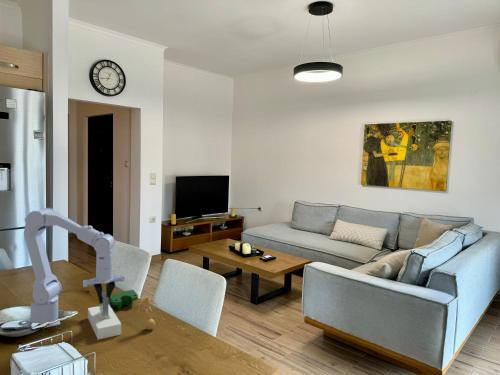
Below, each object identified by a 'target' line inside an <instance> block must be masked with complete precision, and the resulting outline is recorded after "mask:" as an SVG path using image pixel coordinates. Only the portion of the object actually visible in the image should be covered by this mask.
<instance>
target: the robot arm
mask: <svg viewBox="0 0 500 375" xmlns="http://www.w3.org/2000/svg"><path fill="white" fill-rule="evenodd" d="M24 223H25V226H24V230H23V236H24V240H25V243H26V247H27V251H28V255H29V258H30V262H31V266H32V270H33V273H34V277H35V280H34V282H33V284H32V296H31V297H32V299H33V301H34V302H31V303H30V306H29V307H30V310H29V311H30V316H29V323H30V322H31V323H46V322H50V321H54V320H56V319H57V318H58V317H59V294H61V292H62V284H61V282H60V281H59V280H58V278H57V275H56V274H54V273H52V269H51V266H50V262H49V258H48V254H47V251H46V250H47V249H46V247H45V243H44V239H43V235H42V234H43V233H44V232H45V230H47V228H48V227H53V226H57V227H59V228H62V229H65V230H66V231H68V232H70V233H73V234H75V235H76V237H77V239H78V240H80V241H82V242H83V243H85V244H87V245H89V246H91V247H93V249H94V251H95V252H96V257H95V258H96V265H95V266H96V269H95V273H96V274H95V277H93V278H89V279H85V280H82V287H83V288H87V287H90V286H93V287H94V290H95V292H96V294H97V298H98V304H99V305H100V304H101V303H102V292H103V287H102V286H103V285H105V289H106V290H105V292H106V294H107V295H108V297H109V300H110V296H111V295H112V294H113V292H114V289H115V288H116V283H117V282H119V283H120V282H125V275H113V263H114V262H113V256H114V255H113V248H114V246H115V245H116V240H115V238H114V236H112V235H111V234H110V233H104V232H103V231H99V230H96V229H95V228H93V226H92V225H88V224H87V225H80V224H78V223H76V222H75V221H73V220H72V219H70V218H68V217H67V216H65V215H63V214H61V212H59V211H58V210H55V209H54V208H52V207H45V208H43V209H38V210H33V211H30V212H28V214H27V215H26V216H25V218H24ZM31 323H30V324H31ZM59 325H61V322H60V320H59V321H58V322H56V323H52V324H49V325H47V326H46V327H44V328H43V329H45V328H51V327H55V326H59Z"/></svg>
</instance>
